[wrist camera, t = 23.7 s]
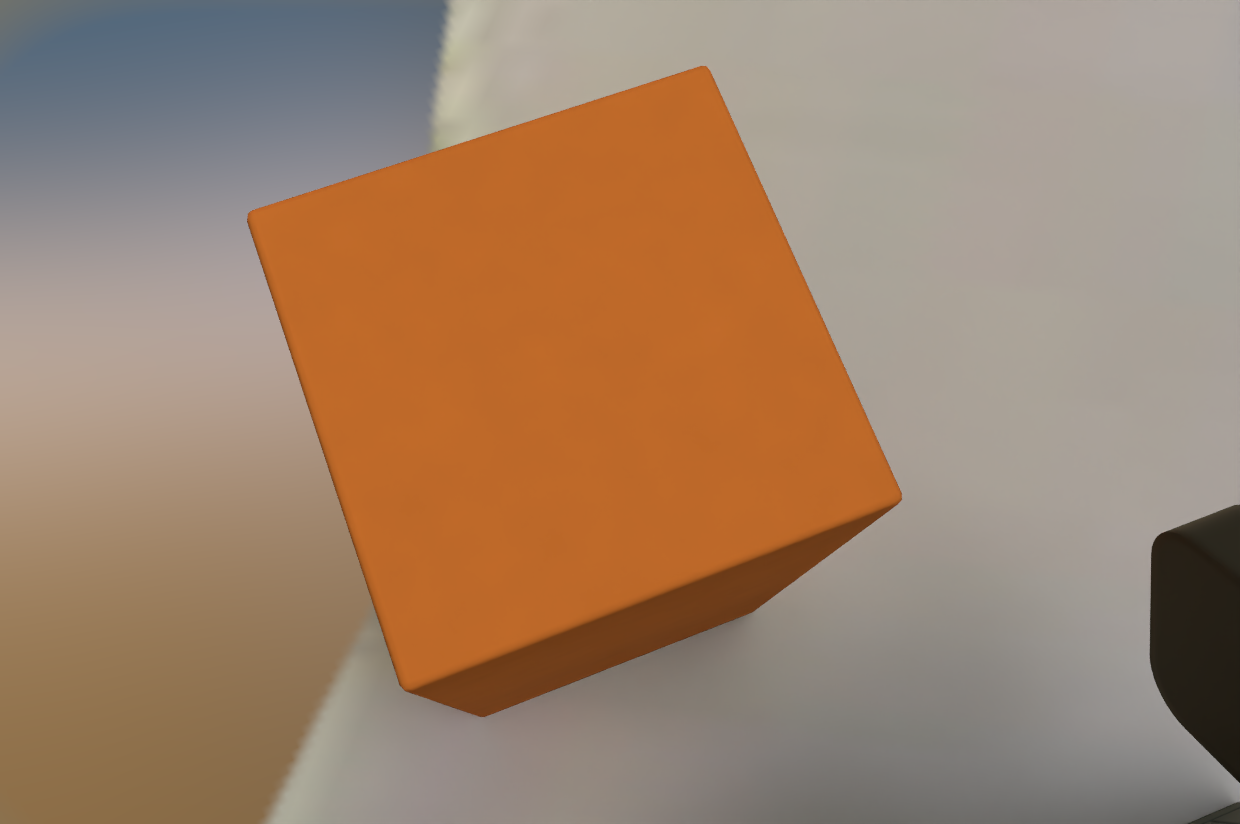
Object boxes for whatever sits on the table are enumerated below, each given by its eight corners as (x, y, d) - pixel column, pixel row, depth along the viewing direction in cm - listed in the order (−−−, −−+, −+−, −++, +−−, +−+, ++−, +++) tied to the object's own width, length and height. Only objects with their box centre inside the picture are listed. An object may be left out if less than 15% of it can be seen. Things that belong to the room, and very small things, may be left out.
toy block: (649, 351, 22) (708, 60, 12) (756, 611, 20) (907, 499, 11) (385, 444, 21) (241, 209, 12) (480, 719, 20) (401, 694, 11)
